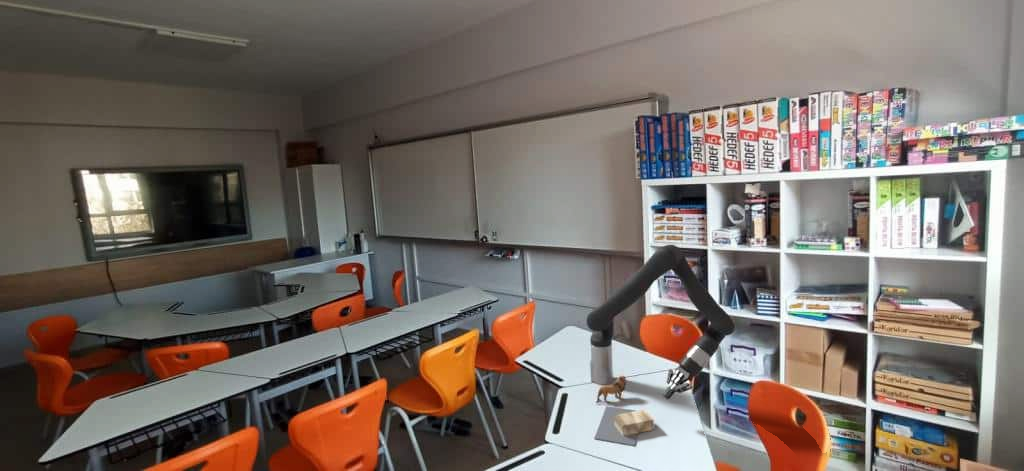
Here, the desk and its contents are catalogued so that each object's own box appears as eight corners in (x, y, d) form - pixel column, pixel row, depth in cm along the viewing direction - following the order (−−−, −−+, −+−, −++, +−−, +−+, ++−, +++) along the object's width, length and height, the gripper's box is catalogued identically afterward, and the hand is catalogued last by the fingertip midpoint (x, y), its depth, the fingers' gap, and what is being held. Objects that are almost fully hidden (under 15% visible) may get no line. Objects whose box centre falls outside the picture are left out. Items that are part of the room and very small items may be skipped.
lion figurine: (622, 392, 194) (621, 372, 192) (630, 397, 189) (629, 377, 187) (592, 401, 188) (591, 381, 186) (600, 407, 183) (599, 386, 182)
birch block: (653, 429, 166) (623, 435, 163) (644, 419, 172) (614, 425, 170) (653, 419, 165) (622, 425, 163) (644, 409, 172) (614, 415, 169)
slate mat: (594, 439, 163) (594, 438, 163) (606, 407, 183) (606, 406, 183) (634, 446, 158) (634, 445, 158) (642, 412, 178) (642, 411, 178)
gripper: (678, 348, 174) (649, 383, 174) (699, 362, 161) (668, 400, 161) (690, 359, 176) (662, 394, 176) (712, 374, 163) (682, 412, 163)
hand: (665, 397), depth 168 cm, fingers closed
